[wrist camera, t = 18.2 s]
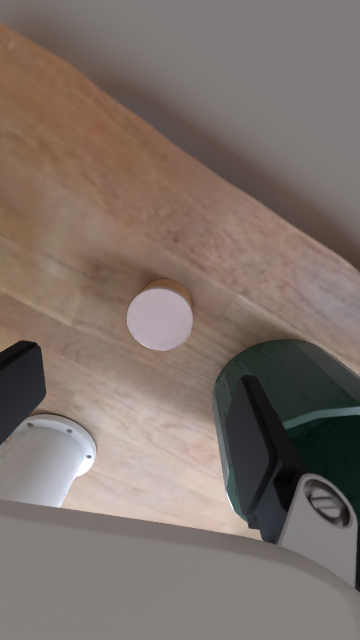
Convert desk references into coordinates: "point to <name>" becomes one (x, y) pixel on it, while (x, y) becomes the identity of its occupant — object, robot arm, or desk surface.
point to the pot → (300, 410)
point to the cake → (161, 315)
